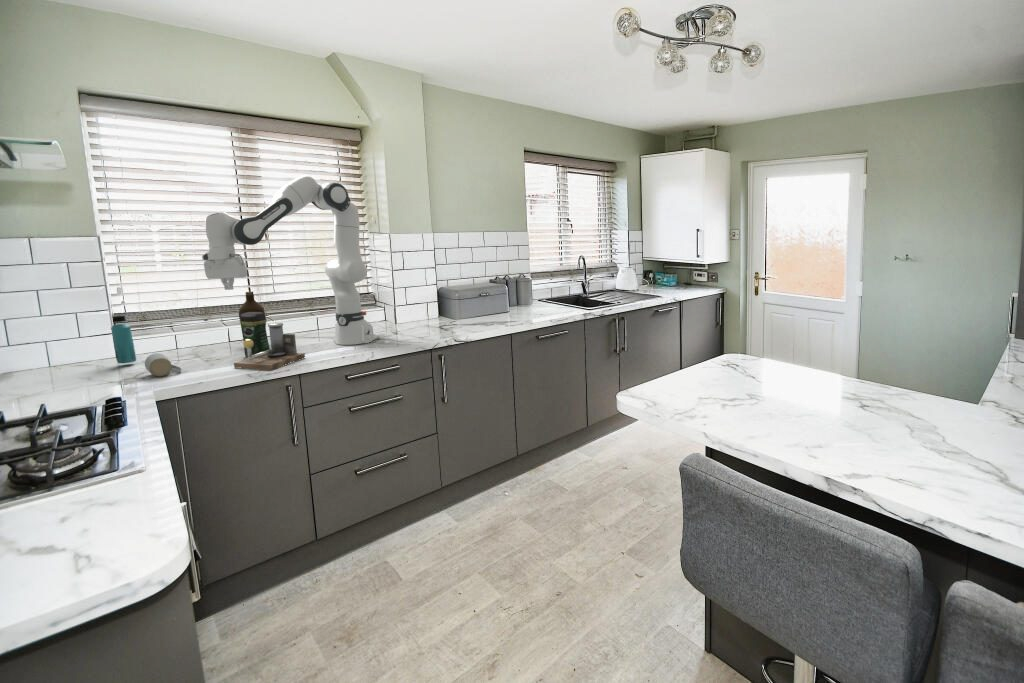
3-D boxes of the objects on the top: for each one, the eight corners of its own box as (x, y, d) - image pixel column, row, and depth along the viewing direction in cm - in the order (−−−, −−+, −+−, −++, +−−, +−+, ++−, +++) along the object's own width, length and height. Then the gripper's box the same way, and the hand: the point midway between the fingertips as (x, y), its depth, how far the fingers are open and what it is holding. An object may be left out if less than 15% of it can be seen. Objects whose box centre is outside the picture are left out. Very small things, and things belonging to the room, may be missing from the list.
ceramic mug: (150, 379, 191) (147, 358, 189) (146, 375, 197) (143, 354, 195) (184, 373, 198) (181, 353, 197) (178, 370, 204) (176, 350, 202)
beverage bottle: (141, 363, 214) (133, 314, 210) (124, 367, 208) (116, 317, 204) (129, 362, 216) (121, 314, 212) (113, 366, 210) (104, 316, 206)
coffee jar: (273, 353, 228) (268, 310, 224) (260, 357, 221) (255, 313, 217) (254, 352, 231) (249, 310, 227) (241, 356, 223) (235, 313, 219)
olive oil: (246, 349, 236) (239, 293, 231) (240, 346, 244) (233, 292, 239) (271, 346, 243) (265, 291, 238) (264, 342, 251) (258, 290, 246)
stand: (270, 355, 224) (267, 332, 222) (305, 357, 219) (303, 334, 217) (234, 367, 205) (231, 342, 203) (271, 370, 200) (268, 344, 198)
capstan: (276, 352, 220) (273, 322, 217) (290, 353, 218) (287, 322, 215) (239, 364, 201) (235, 331, 198) (255, 365, 199) (251, 332, 197)
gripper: (248, 252, 207) (254, 288, 210) (213, 255, 216) (219, 289, 219) (233, 253, 202) (240, 290, 204) (198, 256, 210) (205, 291, 213)
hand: (229, 289), depth 212 cm, fingers closed
